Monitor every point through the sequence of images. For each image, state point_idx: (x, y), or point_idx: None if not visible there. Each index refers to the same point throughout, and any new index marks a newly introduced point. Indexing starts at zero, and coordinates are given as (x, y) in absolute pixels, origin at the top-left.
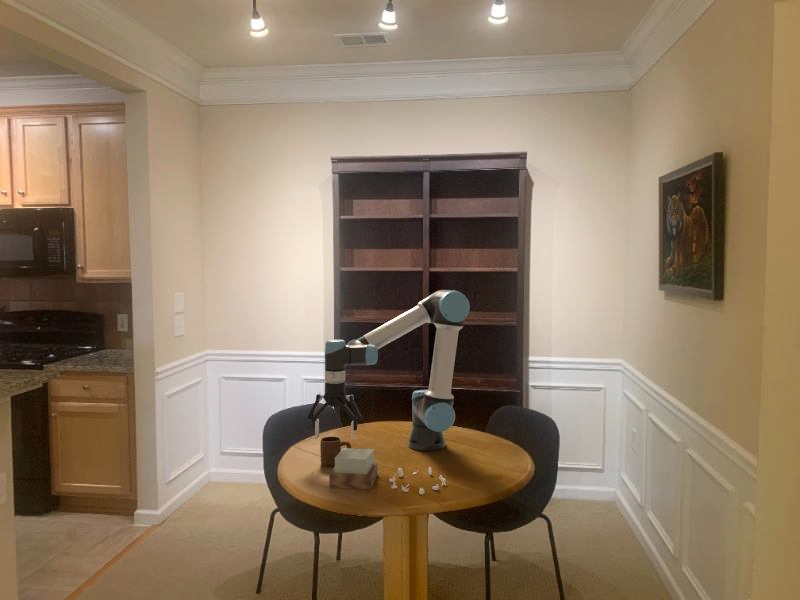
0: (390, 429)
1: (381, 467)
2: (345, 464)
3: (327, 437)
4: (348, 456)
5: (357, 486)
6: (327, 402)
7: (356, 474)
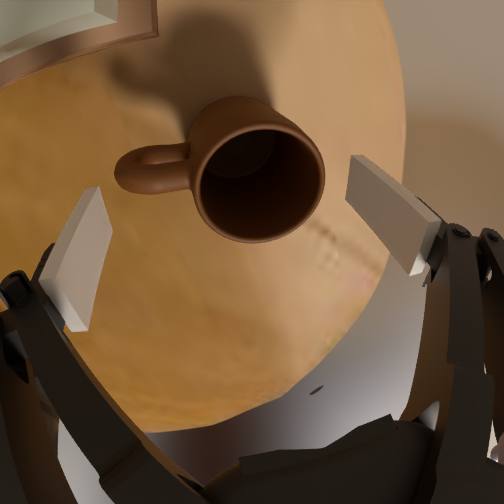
0: (173, 410)
1: (16, 164)
2: None
3: (292, 224)
4: None
5: None
6: (471, 453)
7: None
